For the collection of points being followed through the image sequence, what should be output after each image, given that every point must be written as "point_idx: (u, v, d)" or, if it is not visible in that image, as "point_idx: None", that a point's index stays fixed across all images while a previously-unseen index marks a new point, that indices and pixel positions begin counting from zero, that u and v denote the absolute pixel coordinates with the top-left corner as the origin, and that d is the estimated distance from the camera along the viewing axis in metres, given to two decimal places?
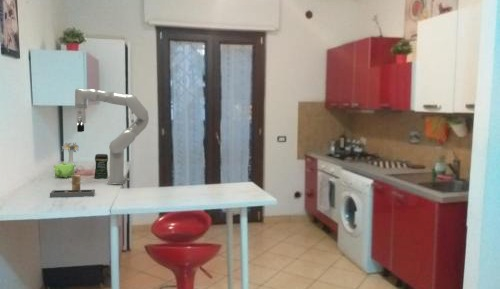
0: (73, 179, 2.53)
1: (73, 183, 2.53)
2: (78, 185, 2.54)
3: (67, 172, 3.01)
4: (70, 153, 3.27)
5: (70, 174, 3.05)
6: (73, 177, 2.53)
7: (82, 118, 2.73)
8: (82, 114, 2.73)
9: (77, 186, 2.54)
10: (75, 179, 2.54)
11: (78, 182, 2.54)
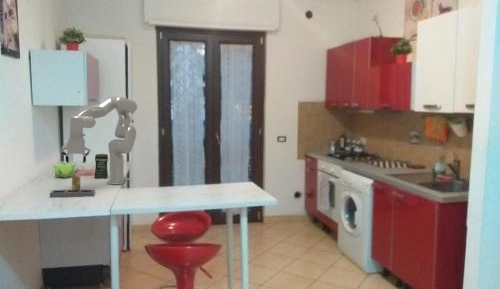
0: (73, 179, 2.53)
1: (73, 183, 2.53)
2: (78, 185, 2.54)
3: (67, 172, 3.01)
4: None
5: (70, 174, 3.05)
6: (73, 177, 2.53)
7: None
8: (84, 144, 2.57)
9: (77, 186, 2.54)
10: (75, 179, 2.54)
11: (78, 182, 2.54)
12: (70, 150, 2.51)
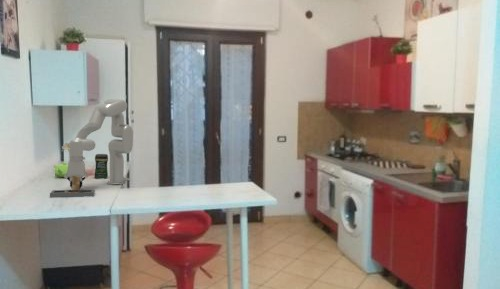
0: (73, 179, 2.53)
1: (73, 183, 2.53)
2: (78, 185, 2.54)
3: None
4: None
5: None
6: (73, 177, 2.53)
7: None
8: (84, 167, 2.58)
9: (77, 186, 2.54)
10: (75, 179, 2.54)
11: (78, 182, 2.54)
12: (70, 174, 2.52)
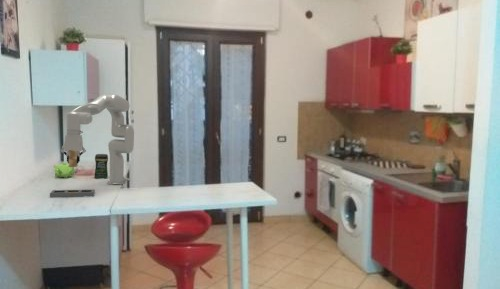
0: (69, 153, 2.40)
1: (70, 158, 2.40)
2: (75, 160, 2.41)
3: (67, 172, 3.01)
4: None
5: (70, 174, 3.05)
6: (70, 151, 2.40)
7: None
8: (82, 141, 2.44)
9: (74, 161, 2.41)
10: (72, 154, 2.40)
11: (75, 157, 2.41)
12: (67, 148, 2.39)
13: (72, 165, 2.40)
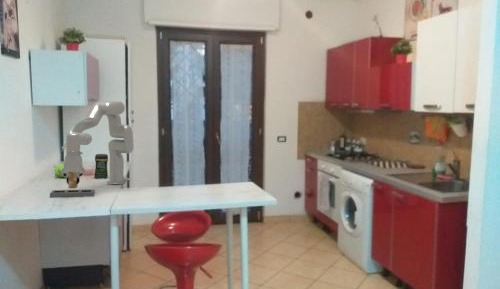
0: (69, 175, 2.39)
1: (70, 179, 2.39)
2: (75, 181, 2.40)
3: None
4: None
5: None
6: (70, 173, 2.39)
7: None
8: None
9: (74, 183, 2.40)
10: (72, 175, 2.40)
11: (75, 178, 2.40)
12: (67, 169, 2.39)
13: (72, 186, 2.40)
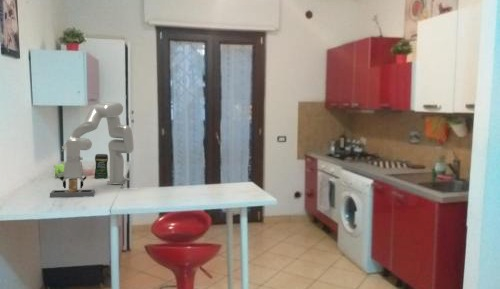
0: (69, 183, 2.40)
1: (70, 187, 2.40)
2: (75, 189, 2.41)
3: None
4: None
5: None
6: (70, 181, 2.40)
7: None
8: None
9: (74, 191, 2.41)
10: (72, 183, 2.40)
11: (75, 186, 2.41)
12: (67, 175, 2.39)
13: None
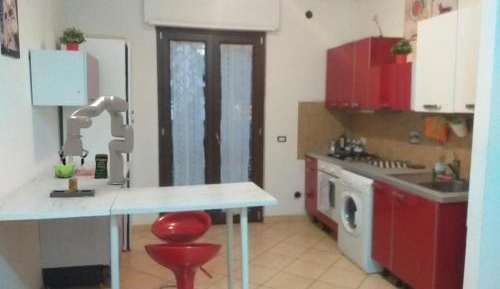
0: (69, 183, 2.40)
1: (70, 187, 2.40)
2: (75, 189, 2.41)
3: (67, 172, 3.01)
4: None
5: (70, 174, 3.05)
6: (70, 181, 2.40)
7: None
8: (82, 145, 2.44)
9: (74, 191, 2.41)
10: (72, 183, 2.40)
11: (75, 186, 2.41)
12: (67, 152, 2.38)
13: None
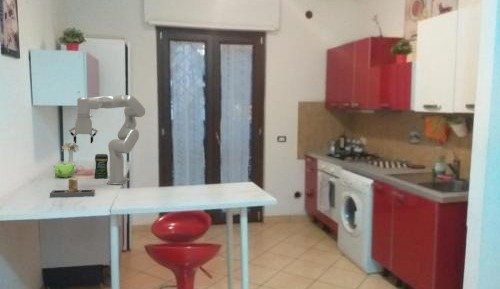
0: (69, 183, 2.40)
1: (70, 187, 2.40)
2: (75, 189, 2.41)
3: (67, 172, 3.01)
4: (70, 153, 3.27)
5: (70, 174, 3.05)
6: (70, 181, 2.40)
7: None
8: (91, 124, 2.63)
9: (74, 191, 2.41)
10: (72, 183, 2.40)
11: (75, 186, 2.41)
12: (78, 130, 2.57)
13: None
